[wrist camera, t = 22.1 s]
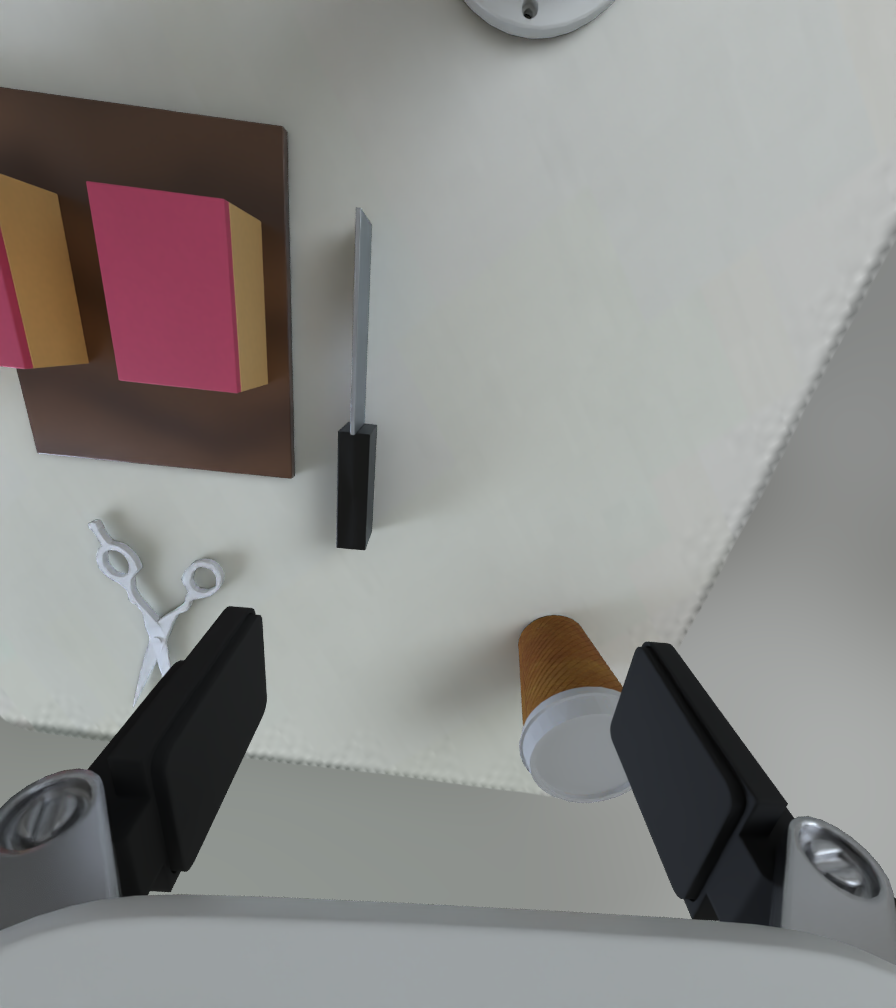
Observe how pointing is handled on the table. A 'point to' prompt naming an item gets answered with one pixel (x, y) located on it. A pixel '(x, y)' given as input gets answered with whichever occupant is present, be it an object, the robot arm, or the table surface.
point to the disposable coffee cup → (568, 713)
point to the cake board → (95, 386)
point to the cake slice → (36, 282)
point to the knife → (357, 414)
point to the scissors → (153, 623)
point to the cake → (181, 288)
